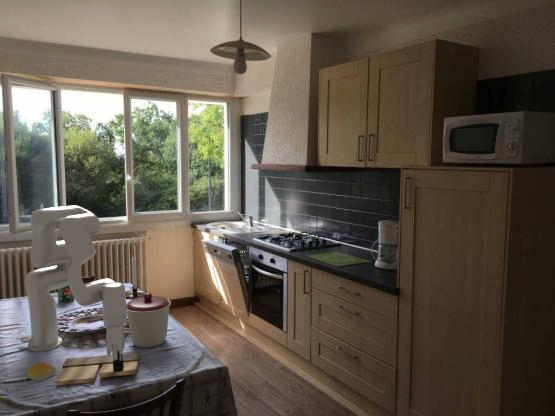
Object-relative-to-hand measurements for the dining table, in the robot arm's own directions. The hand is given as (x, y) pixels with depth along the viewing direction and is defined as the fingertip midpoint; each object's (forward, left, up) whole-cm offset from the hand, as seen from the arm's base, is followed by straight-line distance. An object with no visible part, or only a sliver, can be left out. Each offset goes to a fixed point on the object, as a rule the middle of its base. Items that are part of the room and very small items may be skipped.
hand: (118, 370), depth 161 cm
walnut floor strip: (-7, +13, -3) cm, 15 cm away
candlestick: (+2, +51, -4) cm, 51 cm away
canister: (+9, +29, -4) cm, 31 cm away
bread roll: (-27, +9, -4) cm, 29 cm away
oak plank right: (0, +4, -2) cm, 5 cm away
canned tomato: (-36, +91, -4) cm, 98 cm away
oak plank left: (-14, +4, -3) cm, 15 cm away
